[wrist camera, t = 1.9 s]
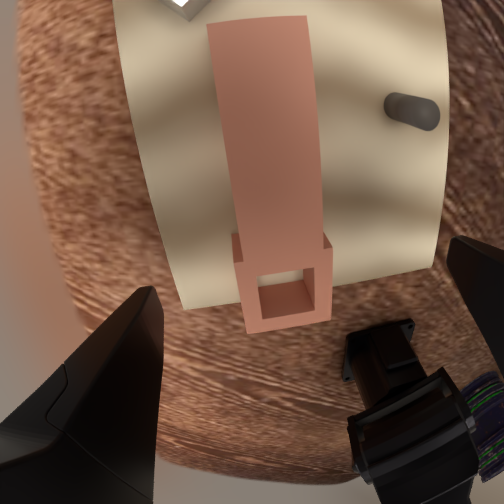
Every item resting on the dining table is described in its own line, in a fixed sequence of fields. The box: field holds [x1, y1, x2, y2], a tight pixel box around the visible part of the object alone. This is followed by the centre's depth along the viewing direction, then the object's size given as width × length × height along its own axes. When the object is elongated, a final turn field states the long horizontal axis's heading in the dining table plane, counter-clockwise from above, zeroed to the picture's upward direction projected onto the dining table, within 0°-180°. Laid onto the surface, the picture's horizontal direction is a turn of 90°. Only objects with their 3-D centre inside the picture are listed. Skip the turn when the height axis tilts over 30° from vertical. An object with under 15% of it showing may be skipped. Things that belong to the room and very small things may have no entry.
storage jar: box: [460, 371, 504, 483], centre depth 31 cm, size 10×10×15 cm
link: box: [206, 15, 333, 334], centre depth 15 cm, size 16×5×3 cm, turn 7°
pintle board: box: [112, 0, 449, 310], centre depth 14 cm, size 24×18×4 cm
